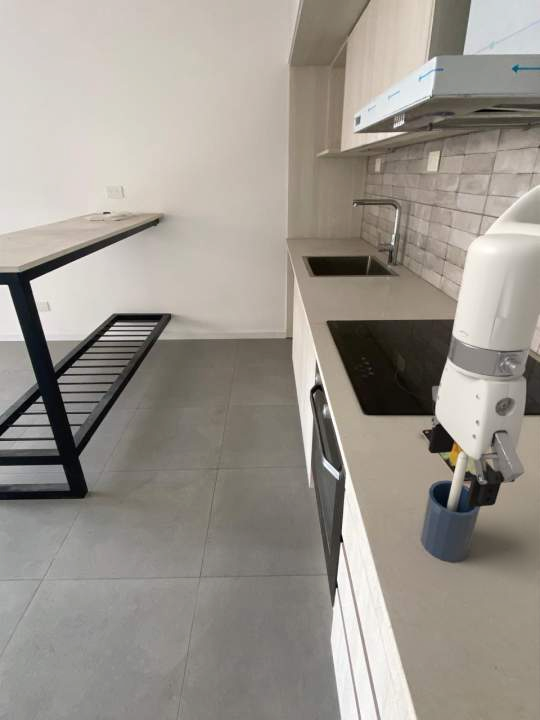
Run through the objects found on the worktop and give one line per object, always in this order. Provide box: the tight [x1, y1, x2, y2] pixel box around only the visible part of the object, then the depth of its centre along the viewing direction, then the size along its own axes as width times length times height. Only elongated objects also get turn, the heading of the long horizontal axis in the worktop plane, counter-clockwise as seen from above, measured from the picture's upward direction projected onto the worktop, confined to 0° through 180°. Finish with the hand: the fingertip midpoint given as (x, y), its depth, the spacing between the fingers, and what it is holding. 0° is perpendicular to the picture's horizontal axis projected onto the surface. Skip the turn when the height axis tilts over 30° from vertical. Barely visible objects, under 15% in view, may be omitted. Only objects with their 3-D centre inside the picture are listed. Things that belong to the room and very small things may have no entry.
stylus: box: [447, 452, 469, 512], centre depth 52 cm, size 1×1×16 cm
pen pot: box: [420, 479, 482, 563], centre depth 54 cm, size 6×6×9 cm
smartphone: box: [421, 428, 495, 484], centre depth 73 cm, size 7×1×15 cm
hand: (458, 475), depth 50 cm, fingers open, 9 cm apart
